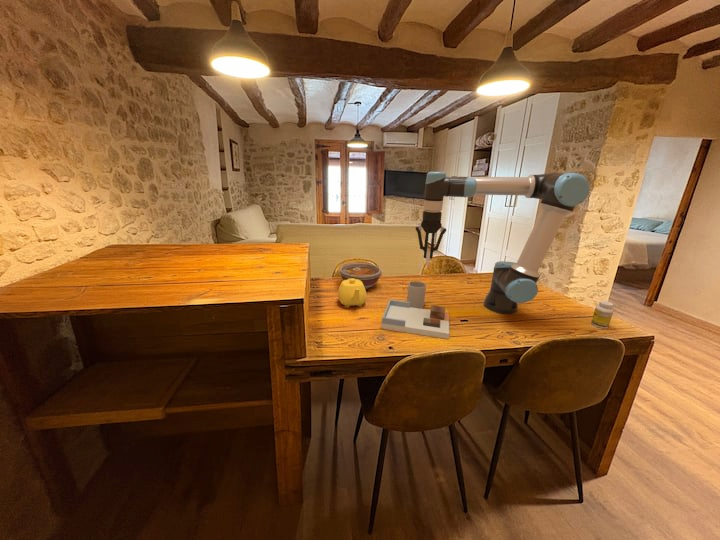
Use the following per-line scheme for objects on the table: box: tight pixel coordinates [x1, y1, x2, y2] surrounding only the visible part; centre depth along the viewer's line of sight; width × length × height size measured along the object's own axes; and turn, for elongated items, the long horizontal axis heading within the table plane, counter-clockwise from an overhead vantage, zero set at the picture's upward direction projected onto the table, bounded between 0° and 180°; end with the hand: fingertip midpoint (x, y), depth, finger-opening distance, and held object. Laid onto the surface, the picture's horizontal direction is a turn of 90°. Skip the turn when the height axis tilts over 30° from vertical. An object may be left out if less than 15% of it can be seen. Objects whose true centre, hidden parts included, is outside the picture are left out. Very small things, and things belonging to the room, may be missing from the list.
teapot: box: [337, 278, 368, 309], centre depth 144 cm, size 14×20×13 cm
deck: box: [381, 299, 450, 340], centre depth 129 cm, size 27×19×5 cm
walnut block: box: [430, 304, 446, 320], centre depth 131 cm, size 6×6×4 cm
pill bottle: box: [590, 300, 614, 329], centre depth 131 cm, size 6×6×11 cm
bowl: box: [339, 262, 382, 290], centre depth 168 cm, size 23×23×10 cm
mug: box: [406, 280, 427, 309], centre depth 147 cm, size 12×8×11 cm
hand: (427, 265), depth 131 cm, fingers closed
